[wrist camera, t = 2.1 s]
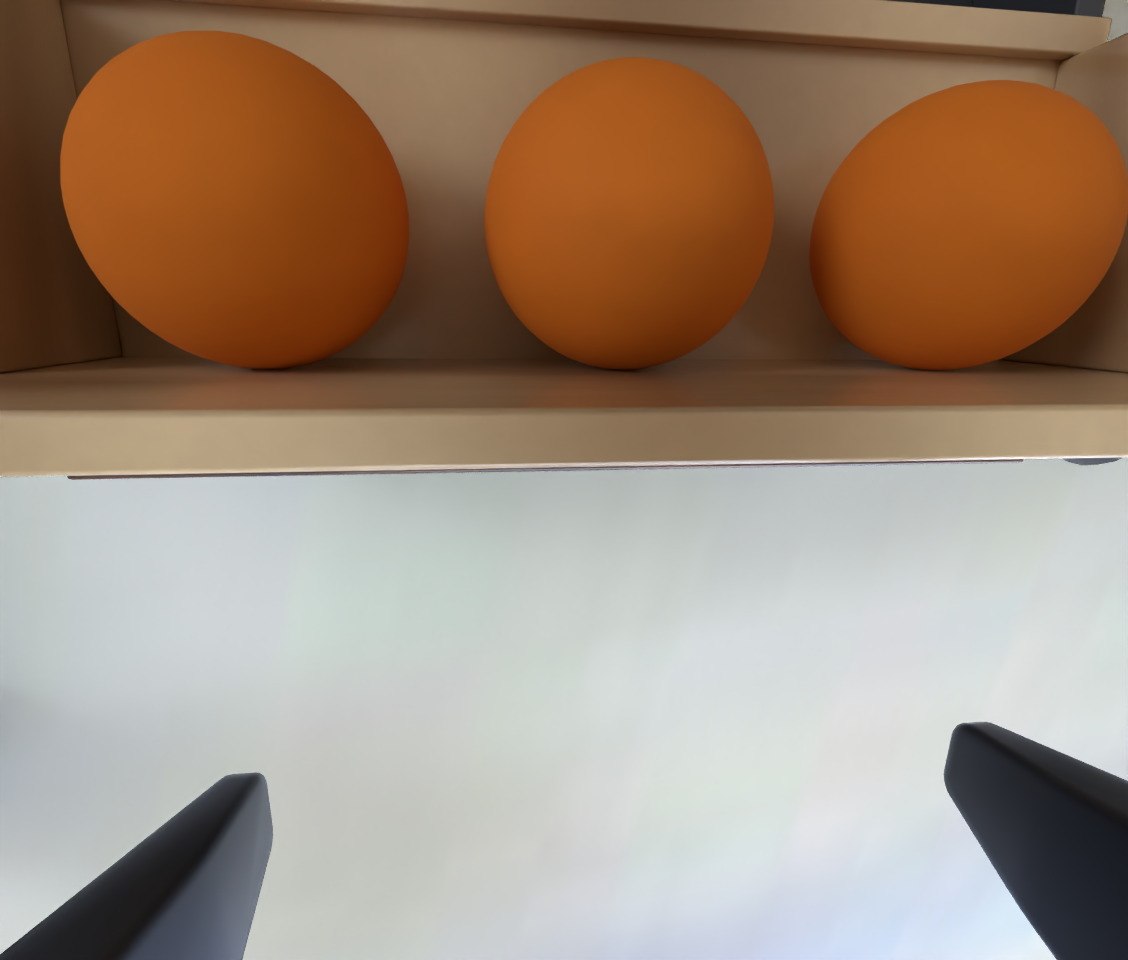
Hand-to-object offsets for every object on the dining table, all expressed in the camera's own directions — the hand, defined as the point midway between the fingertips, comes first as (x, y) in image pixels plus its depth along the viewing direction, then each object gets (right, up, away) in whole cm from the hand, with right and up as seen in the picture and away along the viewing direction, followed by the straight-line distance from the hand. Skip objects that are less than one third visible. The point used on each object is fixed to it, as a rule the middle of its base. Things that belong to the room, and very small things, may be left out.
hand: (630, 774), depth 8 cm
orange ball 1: (-4, +7, -1) cm, 8 cm away
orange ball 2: (0, +7, 0) cm, 7 cm away
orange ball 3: (+4, +7, 0) cm, 8 cm away
